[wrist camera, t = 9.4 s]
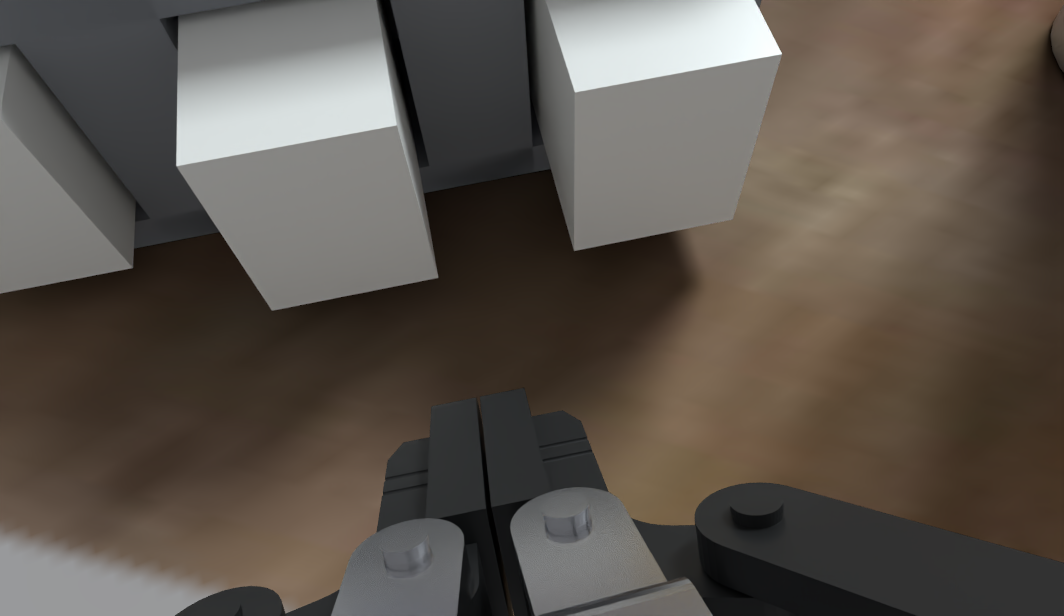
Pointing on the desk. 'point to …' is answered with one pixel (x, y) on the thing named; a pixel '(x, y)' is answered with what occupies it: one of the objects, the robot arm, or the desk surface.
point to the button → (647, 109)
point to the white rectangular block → (54, 189)
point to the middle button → (303, 146)
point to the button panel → (154, 3)
